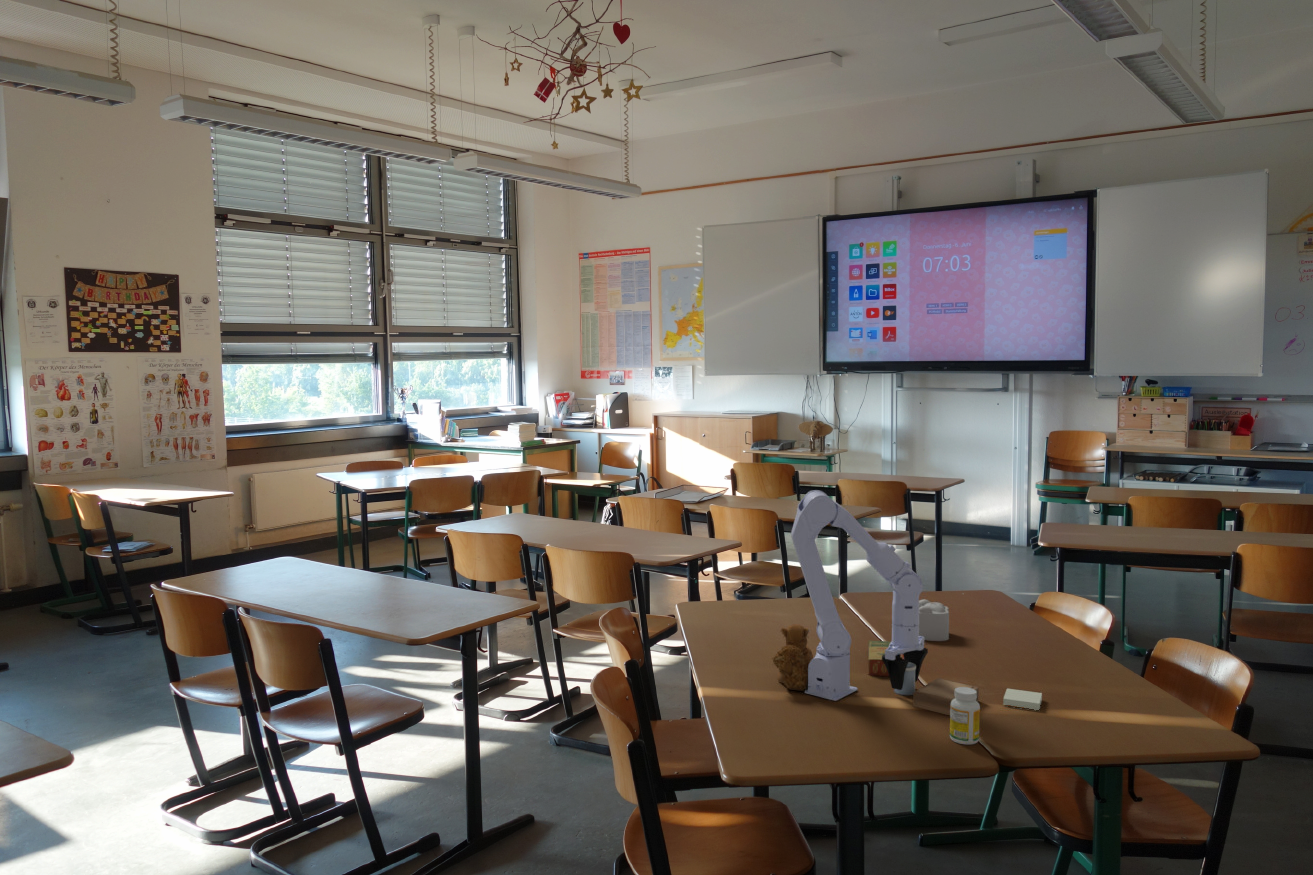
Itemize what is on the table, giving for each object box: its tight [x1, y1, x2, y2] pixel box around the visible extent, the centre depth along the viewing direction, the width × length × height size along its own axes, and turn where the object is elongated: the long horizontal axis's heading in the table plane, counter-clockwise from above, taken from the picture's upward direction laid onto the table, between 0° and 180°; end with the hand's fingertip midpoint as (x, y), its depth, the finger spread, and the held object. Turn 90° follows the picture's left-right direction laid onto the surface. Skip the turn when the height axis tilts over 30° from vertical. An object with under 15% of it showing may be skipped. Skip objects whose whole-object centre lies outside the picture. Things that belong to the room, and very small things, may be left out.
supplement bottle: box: [949, 687, 981, 746], centre depth 177 cm, size 5×5×10 cm
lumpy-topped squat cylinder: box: [919, 598, 950, 642], centre depth 247 cm, size 10×13×9 cm
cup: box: [893, 662, 916, 696], centre depth 204 cm, size 5×5×6 cm
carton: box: [867, 640, 904, 677], centre depth 222 cm, size 8×16×4 cm, turn 167°
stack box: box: [912, 677, 980, 716], centre depth 196 cm, size 12×9×3 cm
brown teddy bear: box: [771, 623, 814, 692], centre depth 208 cm, size 10×14×13 cm
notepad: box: [1002, 688, 1043, 711], centre depth 197 cm, size 7×7×2 cm
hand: (904, 684), depth 204 cm, fingers open, 7 cm apart
